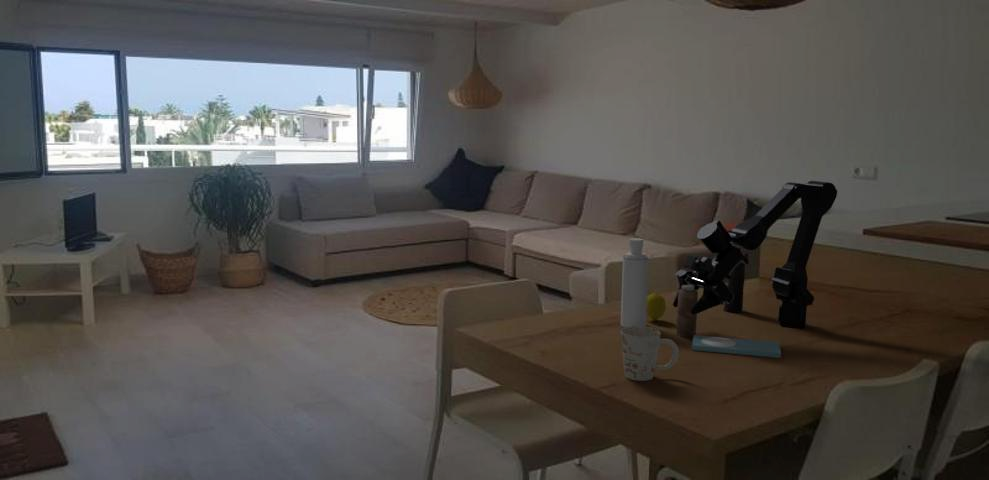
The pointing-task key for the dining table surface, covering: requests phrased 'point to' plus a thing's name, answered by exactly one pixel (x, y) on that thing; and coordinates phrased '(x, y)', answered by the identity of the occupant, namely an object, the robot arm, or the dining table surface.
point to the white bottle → (634, 285)
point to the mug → (643, 352)
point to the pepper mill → (686, 311)
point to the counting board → (736, 346)
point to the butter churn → (736, 287)
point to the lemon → (655, 306)
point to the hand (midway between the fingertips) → (682, 309)
